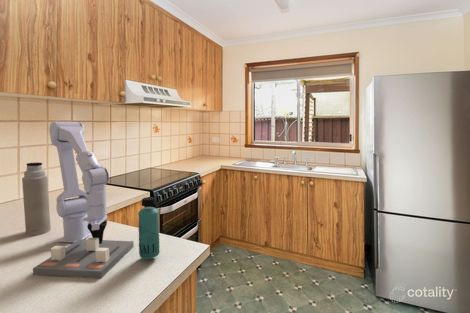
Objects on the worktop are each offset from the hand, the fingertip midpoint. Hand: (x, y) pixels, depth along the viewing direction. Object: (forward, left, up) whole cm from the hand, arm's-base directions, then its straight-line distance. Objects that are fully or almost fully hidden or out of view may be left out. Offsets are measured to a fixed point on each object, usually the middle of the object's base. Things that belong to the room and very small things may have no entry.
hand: (98, 243), depth 88 cm
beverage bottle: (+3, +19, -3) cm, 19 cm away
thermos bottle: (-15, -34, -3) cm, 37 cm away
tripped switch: (+3, 0, -1) cm, 3 cm away
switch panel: (+5, 0, -3) cm, 6 cm away
